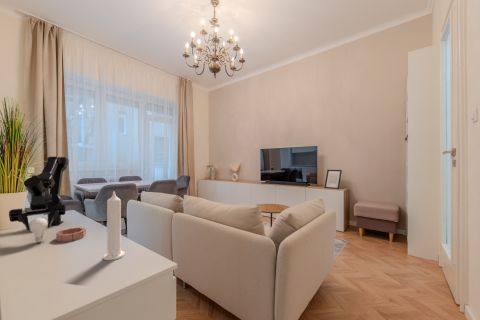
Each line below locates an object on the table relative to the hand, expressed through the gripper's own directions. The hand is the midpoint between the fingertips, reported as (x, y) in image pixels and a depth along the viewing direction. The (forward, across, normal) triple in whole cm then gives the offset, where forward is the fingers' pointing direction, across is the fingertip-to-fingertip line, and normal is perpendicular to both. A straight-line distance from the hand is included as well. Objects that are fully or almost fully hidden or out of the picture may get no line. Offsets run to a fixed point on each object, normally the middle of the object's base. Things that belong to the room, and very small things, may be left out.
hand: (38, 228), depth 96 cm
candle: (+29, +22, -20) cm, 42 cm away
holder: (+5, +11, +5) cm, 13 cm away
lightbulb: (+4, 0, +6) cm, 7 cm away
